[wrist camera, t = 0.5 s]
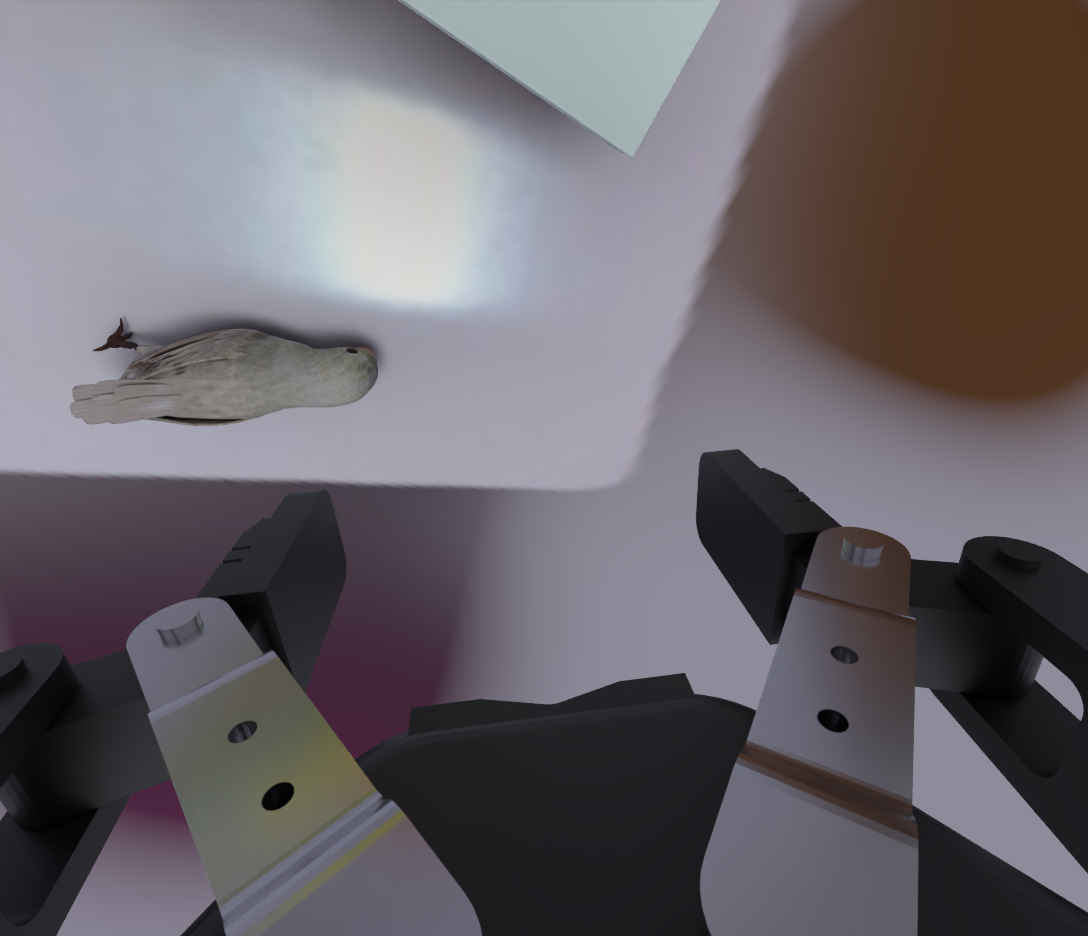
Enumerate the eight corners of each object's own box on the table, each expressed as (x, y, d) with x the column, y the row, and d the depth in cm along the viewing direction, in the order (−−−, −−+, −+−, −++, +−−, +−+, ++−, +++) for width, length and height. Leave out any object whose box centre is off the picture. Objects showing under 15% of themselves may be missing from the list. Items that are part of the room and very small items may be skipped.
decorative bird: (381, 386, 41) (379, 443, 36) (132, 389, 38) (84, 453, 32) (375, 316, 38) (372, 365, 32) (103, 311, 35) (45, 366, 29)
